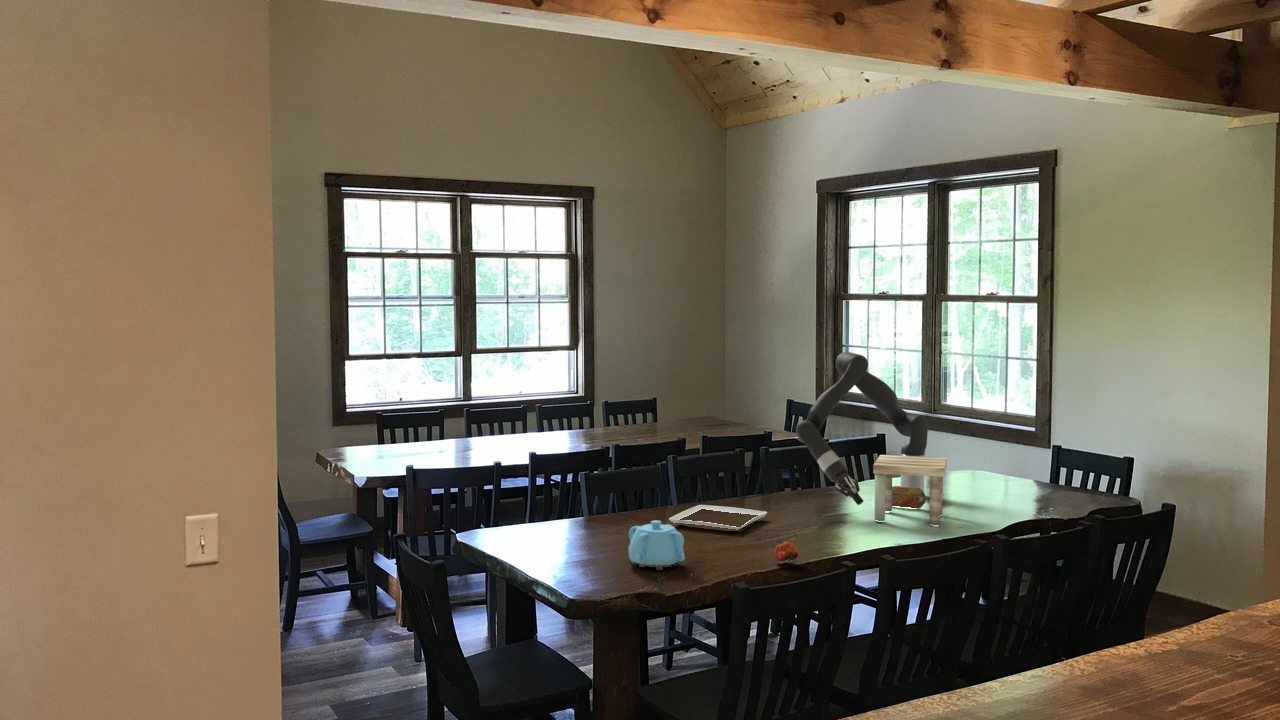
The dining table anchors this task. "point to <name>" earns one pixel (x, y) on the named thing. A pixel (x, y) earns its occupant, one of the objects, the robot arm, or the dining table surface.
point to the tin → (908, 497)
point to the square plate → (716, 508)
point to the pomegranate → (785, 551)
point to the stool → (916, 467)
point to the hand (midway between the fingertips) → (861, 503)
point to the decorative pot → (656, 544)
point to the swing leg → (880, 497)
